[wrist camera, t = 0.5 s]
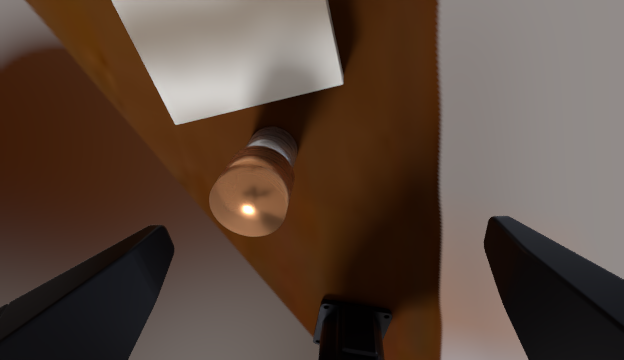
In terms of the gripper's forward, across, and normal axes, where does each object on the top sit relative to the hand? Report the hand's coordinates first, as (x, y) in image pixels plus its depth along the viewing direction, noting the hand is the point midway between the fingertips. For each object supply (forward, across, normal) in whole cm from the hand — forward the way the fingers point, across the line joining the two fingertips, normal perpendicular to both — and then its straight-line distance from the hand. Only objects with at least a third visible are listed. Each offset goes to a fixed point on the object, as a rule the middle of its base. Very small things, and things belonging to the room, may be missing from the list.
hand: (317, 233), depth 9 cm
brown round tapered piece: (+12, +4, +3) cm, 13 cm away
